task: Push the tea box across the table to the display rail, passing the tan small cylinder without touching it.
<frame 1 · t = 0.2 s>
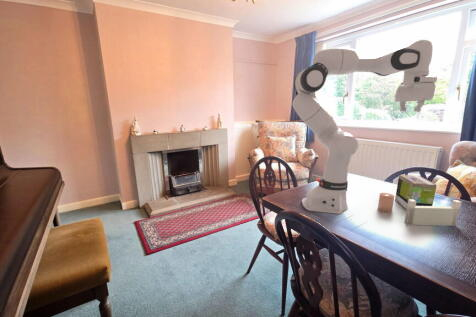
hand: (409, 111, 105), 48 cm above the table, tool pointing down, fingers open, 8 cm apart
display rail: (429, 224, 100), on the table
tan small cylinder: (384, 210, 113), on the table
tea box: (411, 206, 117), on the table
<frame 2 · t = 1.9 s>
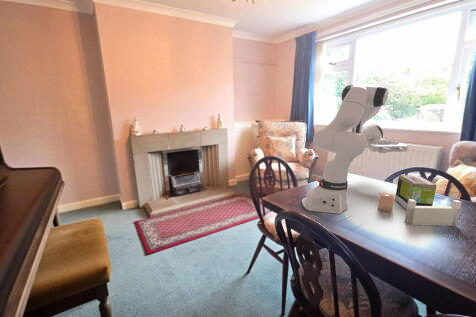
hand: (395, 150, 130), 25 cm above the table, tool horizontal, fingers open, 5 cm apart
nothing on the table moved.
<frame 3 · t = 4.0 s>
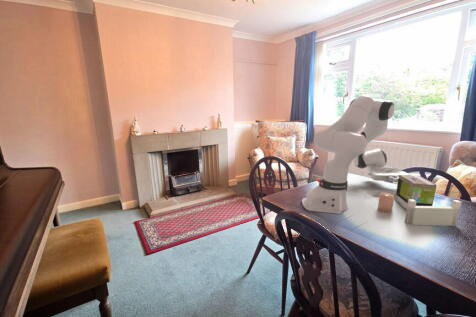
hand: (397, 180, 128), 9 cm above the table, tool horizontal, fingers closed
nothing on the table moved.
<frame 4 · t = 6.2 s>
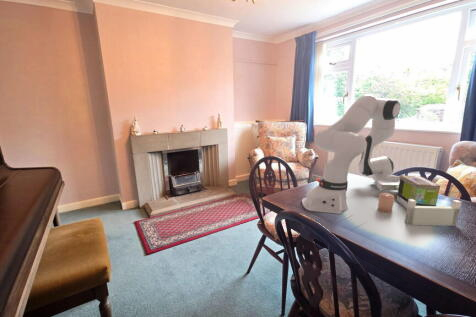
hand: (405, 190, 121), 6 cm above the table, tool horizontal, fingers closed
tea box: (414, 207, 115), on the table, touching gripper
everything else where it was.
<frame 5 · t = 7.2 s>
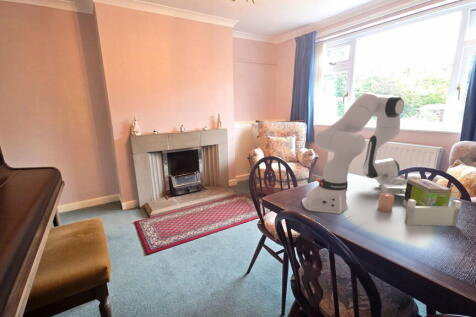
hand: (412, 194, 116), 6 cm above the table, tool horizontal, fingers closed, pressing on tea box
tea box: (422, 212, 110), on the table, touching gripper
everything else where it was.
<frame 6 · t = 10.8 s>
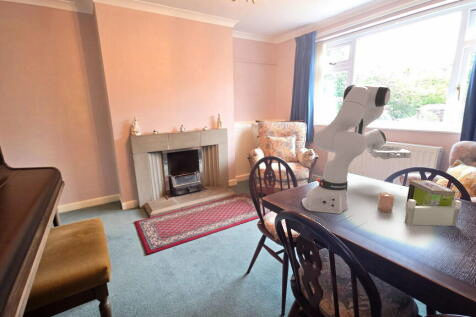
hand: (398, 156, 127), 22 cm above the table, tool horizontal, fingers closed
tea box: (425, 214, 109), on the table
everything else where it was.
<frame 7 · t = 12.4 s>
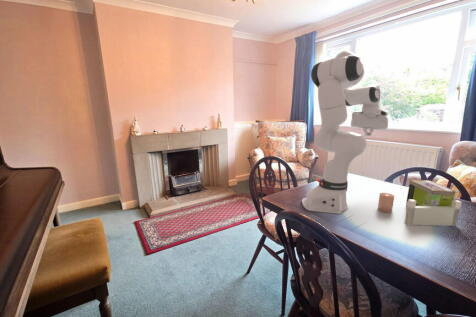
hand: (367, 135, 135), 33 cm above the table, tool tilted 15°, fingers closed
nothing on the table moved.
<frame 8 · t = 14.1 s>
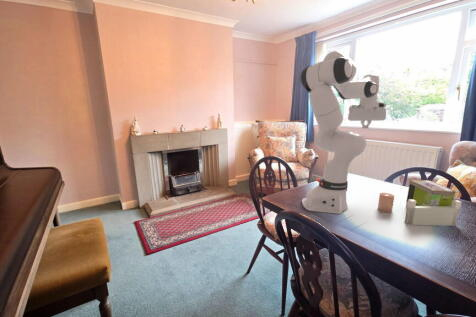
hand: (365, 128, 135), 37 cm above the table, tool pointing down, fingers closed
nothing on the table moved.
at the end: tea box inside the target area (1.0 cm from its centre), on the table; tea box tilted 0°; tea box moved 8.4 cm from its start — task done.
